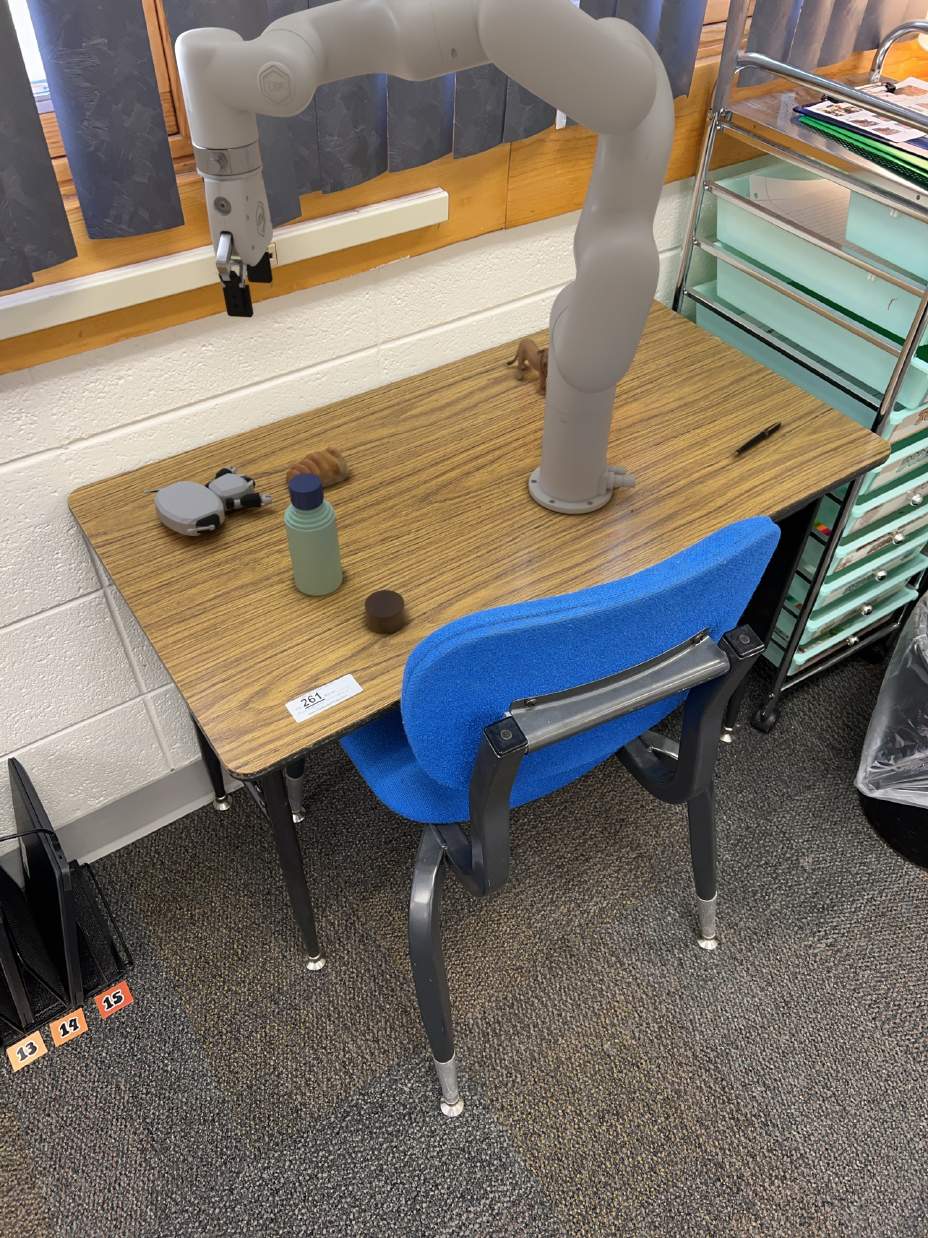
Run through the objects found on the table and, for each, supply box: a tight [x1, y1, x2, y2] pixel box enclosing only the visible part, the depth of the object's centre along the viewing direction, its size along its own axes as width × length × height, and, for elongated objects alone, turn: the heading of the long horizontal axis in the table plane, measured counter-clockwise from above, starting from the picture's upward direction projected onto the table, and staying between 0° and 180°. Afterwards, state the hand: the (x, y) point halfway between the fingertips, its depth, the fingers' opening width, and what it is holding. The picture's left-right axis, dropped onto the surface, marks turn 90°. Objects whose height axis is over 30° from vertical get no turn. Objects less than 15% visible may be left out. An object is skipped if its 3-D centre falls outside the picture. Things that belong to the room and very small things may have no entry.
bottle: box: [283, 499, 344, 597], centre depth 118 cm, size 6×6×16 cm
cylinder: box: [364, 589, 406, 635], centre depth 117 cm, size 5×5×3 cm
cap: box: [288, 473, 325, 510], centre depth 113 cm, size 4×4×3 cm
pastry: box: [285, 446, 351, 488], centre depth 138 cm, size 9×7×4 cm
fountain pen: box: [731, 421, 782, 457], centre depth 147 cm, size 14×1×2 cm, turn 134°
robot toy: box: [142, 466, 273, 537], centre depth 132 cm, size 12×4×15 cm
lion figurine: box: [505, 338, 549, 396], centre depth 157 cm, size 15×5×9 cm, turn 44°
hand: (251, 298), depth 118 cm, fingers open, 9 cm apart
